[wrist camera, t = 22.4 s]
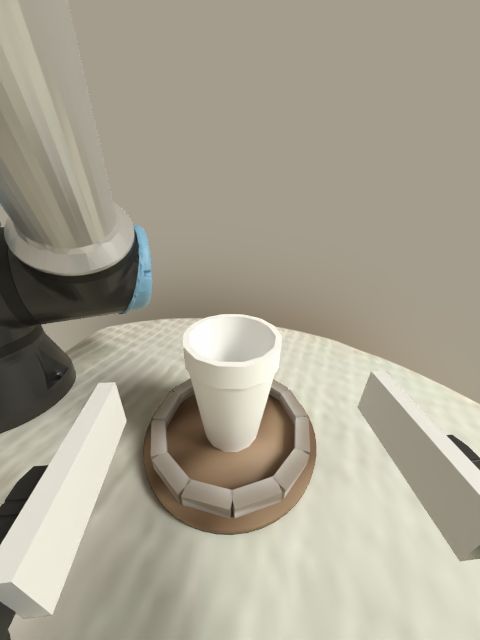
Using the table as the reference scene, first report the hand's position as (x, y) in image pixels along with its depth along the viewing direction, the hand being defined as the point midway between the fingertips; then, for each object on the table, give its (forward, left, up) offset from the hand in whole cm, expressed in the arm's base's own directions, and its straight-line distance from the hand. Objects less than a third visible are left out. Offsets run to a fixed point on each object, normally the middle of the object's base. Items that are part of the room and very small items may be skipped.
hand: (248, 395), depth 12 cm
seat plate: (-8, +7, -16) cm, 19 cm away
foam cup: (-8, +7, -16) cm, 19 cm away
